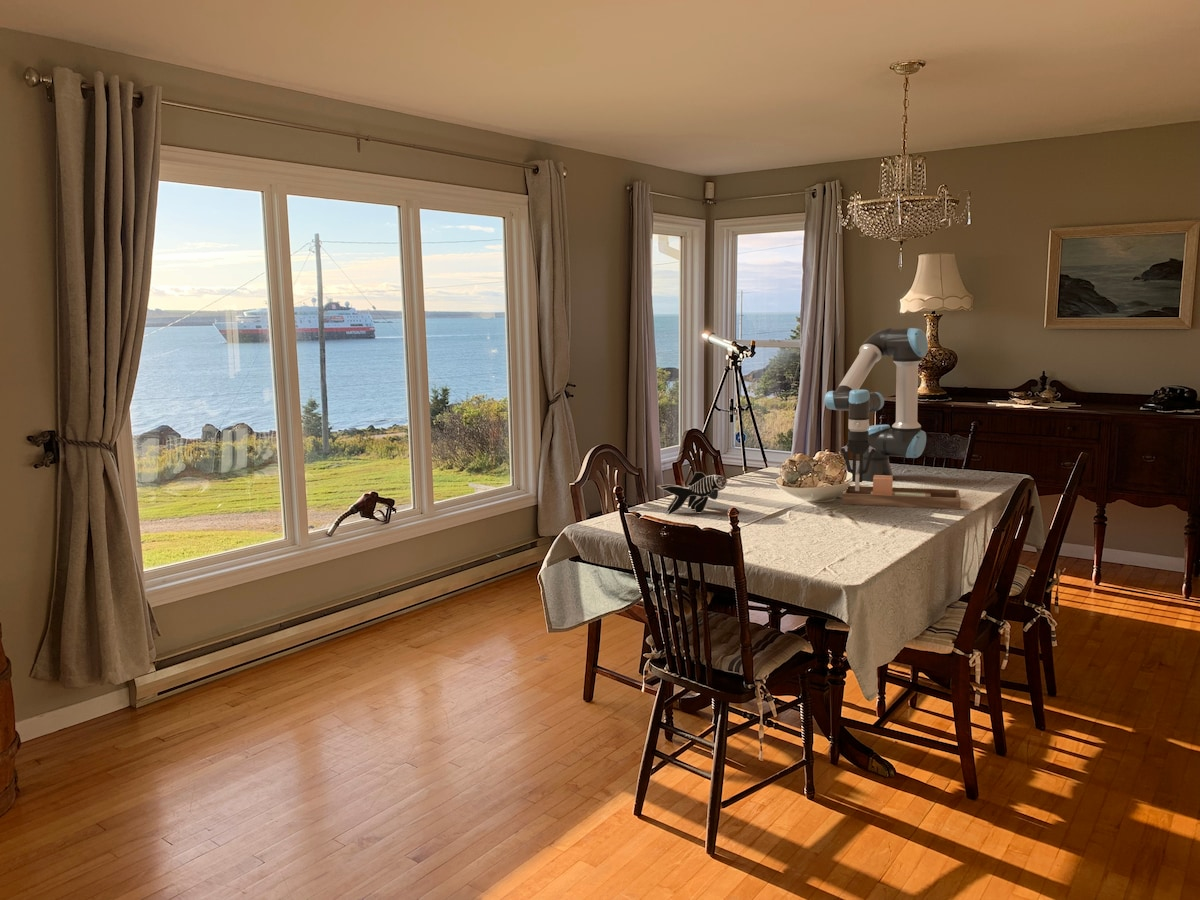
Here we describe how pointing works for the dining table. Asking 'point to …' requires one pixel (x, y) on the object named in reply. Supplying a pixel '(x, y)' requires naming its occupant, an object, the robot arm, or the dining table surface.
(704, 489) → the decorative fish
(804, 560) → the dining table surface
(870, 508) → the dining table surface
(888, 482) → the block
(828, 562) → the dining table surface
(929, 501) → the trap box
